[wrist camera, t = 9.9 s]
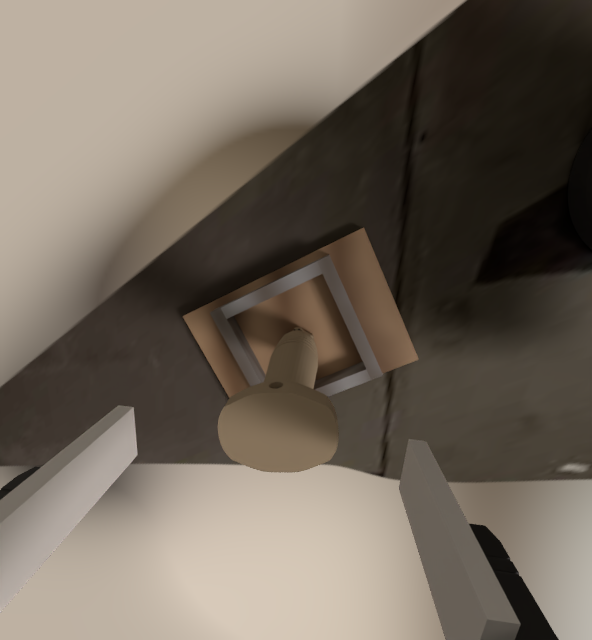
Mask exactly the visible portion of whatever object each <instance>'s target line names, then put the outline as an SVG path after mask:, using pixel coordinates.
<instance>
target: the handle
mask: <svg viewBox="0 0 592 640" xmlns="http://www.w3.org/2000/svg"><path fill="white" fill-rule="evenodd" d="M317 368H318V353H317V347H316V344H315V342H314V336H313V334H312V333H309V332H306V331H304V330H303V329H302V328H301V327H295V328H294V329H293V331H291V332H289V333H287V334H285V335H284V336H283V337H282V338H281V340H280V341H279V342H278V344H277V345H276V347H275V349H274V351H273V353H272V355H271V358H270V362H269V365H268V369H267V373H266V376H265V379H264V382H262V383H259V384H256V385H254V386H251V387H249V388H246V389H244V390H242V391H240V392H238V393H236V394H235V395H233V396H231V397H230V398H229V400H228V402H227V403H226V405H225V407H224V408H223V410H222V412H221V414H220V416H219V420H218V435H219V439H220V443H221V445H222V447H223V450H224V451H225V452H226V454H227V455H228V456H229V457H230V458H231V460H234V461H236V462H238V463H241V464H243V465H246V466H248V467H251V468H253V469H257V470H260V471H266V472H299V471H304V470H307V469H310V468H312V467H315V466H318V465H320V464H323V463H325V462H328V461H329V460H330V459H331V458H332V456H333V455H334V453H335V451H336V449H337V445H338V436H339V433H338V423H337V415H336V412H335V409H334V406H333V404H332V403H331V401H330V400H329V398H328V397H327V396H326V395H325V394H323V393H321V392H319V391H316V390H314V389H313V388H314V383H315V378H316V373H317Z"/></svg>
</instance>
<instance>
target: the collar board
mask: <svg viewBox="0 0 592 640" xmlns="http://www.w3.org/2000/svg"><path fill="white" fill-rule="evenodd" d="M182 317H183V318H184V320H185V322H186V323H187V325H188V327H189V329H190V330H191V332H192V334H193V336H194V337H195V339H196V341H197V342H198V344H199V346H200V348H201V349H202V351H203V353H204V355H205V356H206V358H207V360H208V362H209V363H210V365H211V367H212V368H213V370H214V372H215V374H216V375H217V377H218V379H219V381H220V382H221V384H222V386H223V388H224V389H225V391H226V393H227V394H228V396H229V398H230V397H231V396H233V395H235V394H236V393H238V392H240V391H242V390H244V389H246V388H249V387H251V386H254V385H256V384H259V383H262V382H264V379H265V376H266V373H267V369H268V365H269V362H270V358H271V355H272V353H273V351H274V349H275V347H276V345H277V344H278V342H279V341H280V340H281V338H282V337H283V336H284V335H285V334H287V333H289V332H291V331H293V329H294V328H295V327H301V328H302V329H303V330H304V331H306V332H309V333H312V334H313V336H314V342H315V344H316V347H317V353H318V368H317V373H316V378H315V383H314V388H313V389H314V390H316V391H319V392H321V393H323V394H325V395H326V396H327V397H328V396H331V395H333V394H336V393H339V392H341V391H344V390H346V389H349V388H352V387H354V386H357V385H359V384H362V383H365V382H367V381H370V380H373V379H375V378H378V377H380V376H383V374H382V373H385V372H388V371H390V370H393V369H395V368H398V367H401V366H403V365H406V364H408V363H411V362H414V361H416V360H419V359H418V356H417V354H416V352H415V349H414V347H413V344H412V342H411V340H410V337H409V335H408V332H407V330H406V328H405V325H404V323H403V320H402V318H401V316H400V313H399V311H398V308H397V306H396V303H395V301H394V299H393V296H392V294H391V291H390V289H389V287H388V284H387V282H386V279H385V277H384V275H383V272H382V270H381V267H380V265H379V263H378V260H377V258H376V255H375V253H374V250H373V248H372V246H371V243H370V241H369V238H368V236H367V234H366V231H365V229H364V228H361V229H359V230H357V231H355V232H353V233H351V234H349V235H347V236H345V237H343V238H341V239H339V240H337V241H335V242H333V243H331V244H329V245H327V246H325V247H323V248H321V249H318V250H316V251H314V252H312V253H310V254H308V255H306V256H304V257H302V258H300V259H298V260H296V261H294V262H292V263H290V264H288V265H286V266H284V267H282V268H280V269H278V270H276V271H274V272H272V273H270V274H268V275H266V276H263V277H261V278H259V279H257V280H255V281H253V282H251V283H249V284H247V285H245V286H243V287H241V288H239V289H237V290H235V291H233V292H231V293H229V294H227V295H225V296H223V297H221V298H219V299H217V300H215V301H213V302H211V303H208V304H206V305H204V306H202V307H200V308H198V309H196V310H194V311H192V312H190V313H188V314H186V315H184V316H182Z"/></svg>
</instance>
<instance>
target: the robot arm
mask: <svg viewBox="0 0 592 640" xmlns="http://www.w3.org/2000/svg"><path fill="white" fill-rule="evenodd" d="M568 207H569V212H570V217H571V220H572V223H573V225H574V228H575V230H576V232H577V233H578V235H579V236H580V238H581V239H582V240H583V242H584V243H585V244H586V245H587V246H588V247H589V248H590V249H591V250H592V129H591V130H590V132H589V133H588V135H587V136H586V138H585V140H584V141H583V143H582V145H581V147H580V149H579V151H578V153H577V156H576V158H575V161H574V163H573V167H572V170H571V174H570V179H569V185H568ZM136 456H137V443H136V431H135V420H134V408H133V407H127V406H119V405H118V406H117V407H116V408H115V409H113V410H112V411H111V412H110V413H108V414H107V415H106V416H105V417H103V418H102V419H101V420H100V421H98V422H97V423H96V424H95V425H93V426H92V427H91V428H90V429H88V430H87V431H86V432H85V433H83V434H82V435H81V436H80V437H78V438H77V439H76V440H75V441H73V442H72V443H71V444H70V445H68V446H67V447H66V448H65V449H63V450H62V451H61V452H60V453H58V454H57V455H56V456H55V457H53V458H52V459H51V460H50V461H48V462H47V463H46V464H45V465H43V466H42V467H34V468H32V469H30V470H28V471H26V472H24V473H22V474H20V475H19V476H17V477H15V478H14V479H13V480H12V481H10V482H9V483H8V484H7V485H5V486H4V487H3V488H1V490H0V612H1V611H2V610H3V609H4V608H5V607H6V605H7V604H8V603H9V602H10V601H11V600H12V599H13V598H14V596H15V595H16V594H17V593H18V592H19V591H20V589H21V588H22V587H23V586H24V585H25V584H26V583H27V581H28V580H29V579H30V578H31V577H32V576H33V574H34V573H35V572H36V571H37V570H38V569H39V568H40V566H41V565H42V564H43V563H44V562H45V561H46V560H47V558H48V557H49V556H50V555H51V554H52V552H54V550H55V549H56V548H57V547H58V546H59V544H60V543H61V542H62V541H63V540H64V539H65V538H66V537H67V535H68V534H69V533H70V532H71V531H72V530H73V528H74V527H75V526H76V525H77V524H78V523H79V521H80V520H81V519H82V518H83V517H84V516H85V515H86V514H87V512H88V511H89V510H90V509H91V508H92V507H93V506H94V504H95V503H96V502H97V501H98V500H99V499H100V497H101V496H102V495H103V494H104V493H105V492H106V490H107V489H108V488H109V487H110V486H111V485H112V484H113V483H114V481H115V480H116V479H117V478H118V477H119V476H120V474H121V473H122V472H123V471H124V470H125V469H126V467H127V466H128V465H129V464H130V463H131V462H132V461H133V460H134V458H135V457H136ZM399 490H400V493H401V497H402V500H403V503H404V506H405V510H406V513H407V516H408V519H409V523H410V525H411V529H412V532H413V535H414V539H415V542H416V545H417V548H418V552H419V555H420V558H421V561H422V565H423V568H424V571H425V574H426V578H427V581H428V584H429V587H430V591H431V594H432V597H433V600H434V604H435V607H436V610H437V613H438V616H439V619H440V623H441V626H442V629H443V633H444V636H445V639H446V640H559V639H558V638H557V637H556V635H555V634H554V632H553V630H552V628H551V627H550V625H549V623H548V621H547V620H546V618H545V617H544V615H543V613H542V611H541V610H540V608H539V606H538V605H537V603H536V602H535V600H534V598H533V596H532V594H531V593H530V591H529V589H528V588H527V586H526V584H525V583H524V581H523V579H522V578H521V577H520V576H519V573H518V571H517V569H516V568H515V566H514V564H513V562H511V561H510V557H509V556H508V554H507V552H506V551H505V549H504V547H503V545H502V544H501V542H500V541H499V540H498V539H497V538H496V537H495V536H494V535H493V533H492V532H491V531H490V530H489V529H488V528H487V527H486V526H483V525H476V524H469V523H468V522H467V520H466V518H465V516H464V514H463V512H462V510H461V508H460V506H459V504H458V502H457V501H456V499H455V497H454V494H453V493H452V491H451V489H450V487H449V485H448V483H447V481H446V479H445V477H444V475H443V473H442V471H441V469H440V467H439V466H438V464H437V462H436V460H435V458H434V456H433V454H432V452H431V450H430V448H429V446H428V444H427V442H426V441H420V440H411V439H409V441H408V446H407V450H406V455H405V460H404V465H403V470H402V475H401V480H400V485H399Z"/></svg>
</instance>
